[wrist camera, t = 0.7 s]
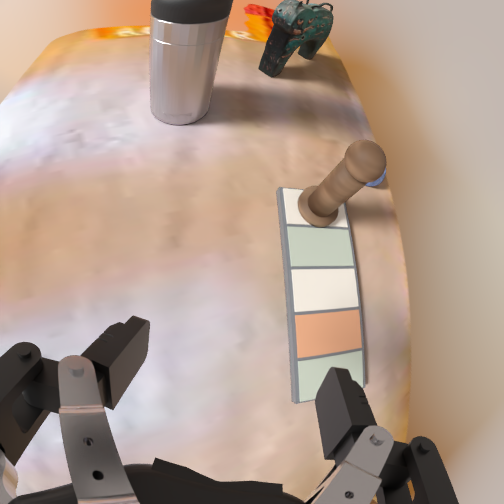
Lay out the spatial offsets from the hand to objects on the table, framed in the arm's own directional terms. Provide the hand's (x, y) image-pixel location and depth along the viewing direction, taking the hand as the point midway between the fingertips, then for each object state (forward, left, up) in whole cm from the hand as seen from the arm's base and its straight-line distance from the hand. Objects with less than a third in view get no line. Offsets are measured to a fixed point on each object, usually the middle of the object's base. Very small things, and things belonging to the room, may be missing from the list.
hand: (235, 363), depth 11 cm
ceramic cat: (-52, +16, -20) cm, 58 cm away
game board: (-6, +15, -19) cm, 25 cm away
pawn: (-16, +15, -18) cm, 28 cm away
